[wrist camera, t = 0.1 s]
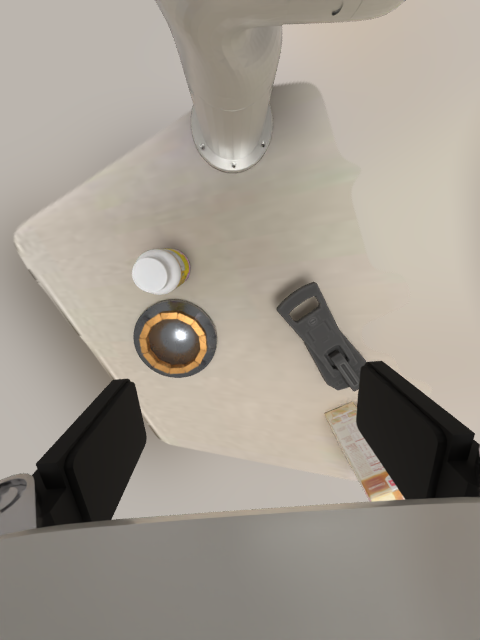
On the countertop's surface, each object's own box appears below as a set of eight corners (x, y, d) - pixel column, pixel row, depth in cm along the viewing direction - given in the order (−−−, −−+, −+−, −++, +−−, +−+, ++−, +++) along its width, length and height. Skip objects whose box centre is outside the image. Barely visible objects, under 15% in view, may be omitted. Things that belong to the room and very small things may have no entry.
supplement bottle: (166, 291, 45) (140, 308, 33) (147, 258, 43) (113, 263, 31) (197, 275, 45) (183, 287, 32) (180, 242, 43) (157, 240, 30)
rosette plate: (129, 301, 46) (122, 305, 43) (213, 297, 46) (212, 301, 43) (143, 375, 50) (138, 383, 48) (219, 372, 50) (218, 379, 48)
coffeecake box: (373, 447, 57) (440, 544, 39) (345, 458, 58) (397, 558, 40) (353, 400, 53) (416, 483, 35) (323, 412, 54) (369, 500, 35)
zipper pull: (317, 276, 38) (386, 384, 45) (305, 272, 45) (368, 367, 51) (271, 309, 40) (344, 409, 46) (266, 300, 46) (331, 389, 52)
